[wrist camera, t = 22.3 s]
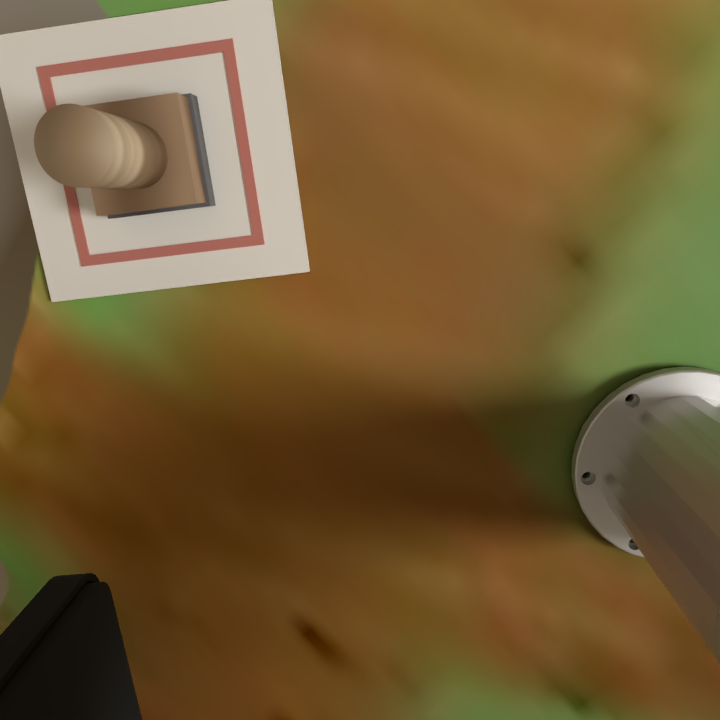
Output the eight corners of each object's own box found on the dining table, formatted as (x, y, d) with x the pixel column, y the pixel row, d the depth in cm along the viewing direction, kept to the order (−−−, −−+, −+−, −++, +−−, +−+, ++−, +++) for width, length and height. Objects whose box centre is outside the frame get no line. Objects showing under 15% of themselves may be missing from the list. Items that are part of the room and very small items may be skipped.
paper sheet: (271, -5, 35) (270, -7, 35) (310, 271, 39) (309, 272, 38) (-9, 37, 36) (-13, 36, 36) (54, 301, 40) (50, 302, 39)
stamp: (196, 96, 36) (126, 60, 27) (215, 205, 38) (155, 209, 28) (94, 110, 37) (-12, 80, 27) (116, 218, 38) (23, 226, 28)
